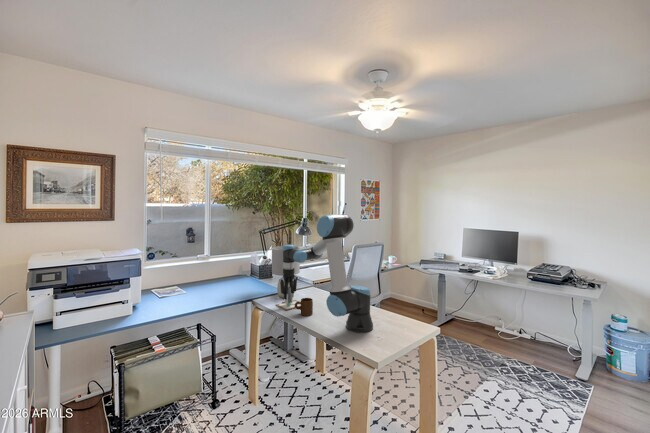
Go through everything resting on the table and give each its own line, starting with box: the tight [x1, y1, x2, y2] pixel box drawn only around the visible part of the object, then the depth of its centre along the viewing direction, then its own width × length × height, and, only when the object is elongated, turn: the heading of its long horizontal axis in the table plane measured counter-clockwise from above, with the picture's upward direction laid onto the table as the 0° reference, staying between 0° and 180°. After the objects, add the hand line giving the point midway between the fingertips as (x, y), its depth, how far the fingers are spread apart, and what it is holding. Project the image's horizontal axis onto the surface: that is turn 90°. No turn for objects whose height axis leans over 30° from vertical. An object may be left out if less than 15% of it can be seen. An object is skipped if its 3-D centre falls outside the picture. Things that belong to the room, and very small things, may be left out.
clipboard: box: [275, 299, 301, 312], centre depth 212 cm, size 13×16×1 cm
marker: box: [287, 287, 291, 306], centre depth 208 cm, size 3×3×12 cm
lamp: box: [271, 245, 301, 299], centre depth 231 cm, size 20×20×37 cm
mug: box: [295, 297, 314, 317], centre depth 196 cm, size 12×8×9 cm, turn 121°
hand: (288, 303), depth 208 cm, fingers closed on marker, 3 cm apart
